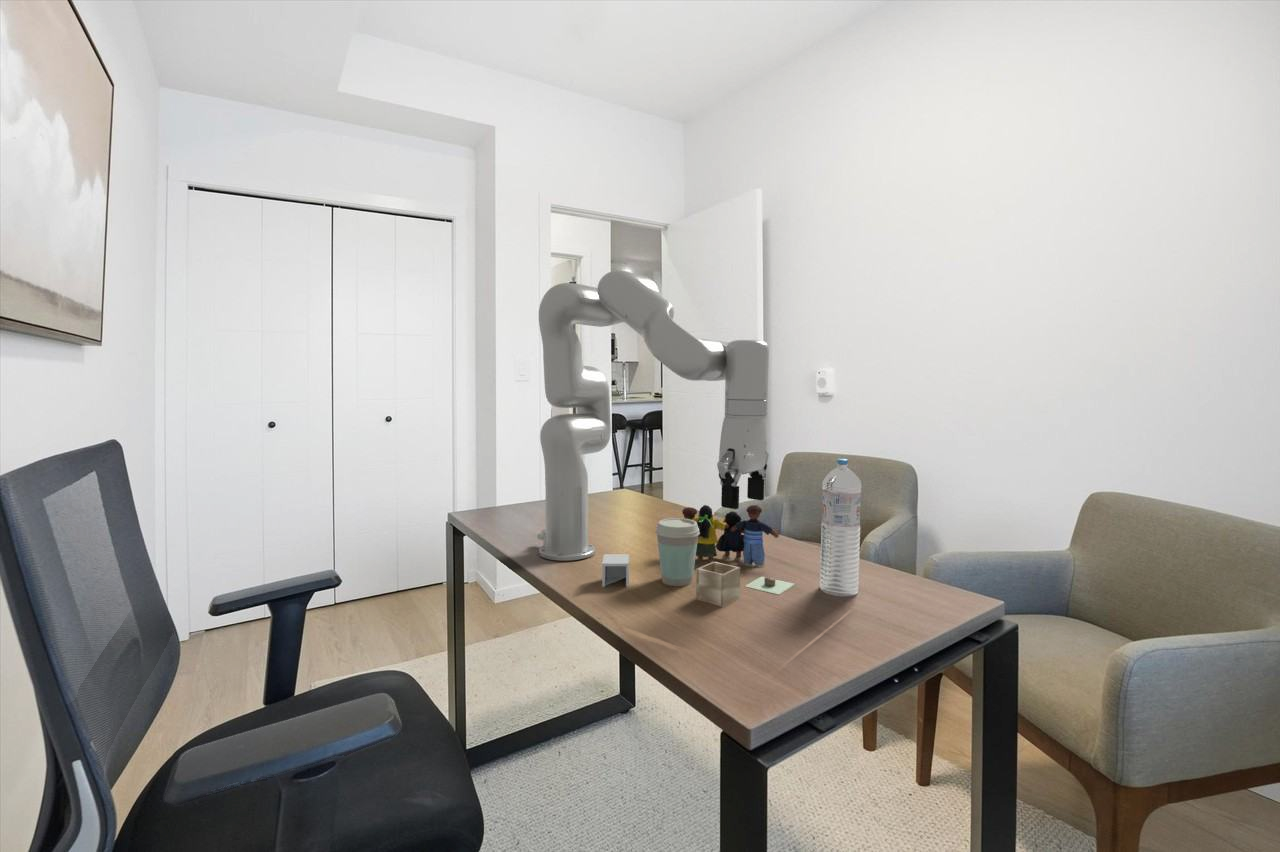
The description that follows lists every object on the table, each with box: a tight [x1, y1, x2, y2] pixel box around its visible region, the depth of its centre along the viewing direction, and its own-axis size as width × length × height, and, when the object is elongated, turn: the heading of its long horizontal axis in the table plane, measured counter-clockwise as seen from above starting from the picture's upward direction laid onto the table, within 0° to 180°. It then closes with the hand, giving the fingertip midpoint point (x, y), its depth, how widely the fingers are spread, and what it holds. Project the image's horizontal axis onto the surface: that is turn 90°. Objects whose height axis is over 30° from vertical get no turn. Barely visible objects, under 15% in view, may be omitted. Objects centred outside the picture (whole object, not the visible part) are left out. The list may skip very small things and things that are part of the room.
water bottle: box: [819, 458, 862, 598], centre depth 110 cm, size 7×7×25 cm
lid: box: [744, 576, 796, 596], centre depth 113 cm, size 7×7×2 cm
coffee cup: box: [655, 517, 700, 587], centre depth 116 cm, size 8×8×12 cm
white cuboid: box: [601, 553, 630, 588], centre depth 115 cm, size 6×5×5 cm
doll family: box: [682, 504, 780, 569], centre depth 130 cm, size 23×9×13 cm, turn 81°
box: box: [695, 560, 741, 608], centre depth 106 cm, size 6×6×6 cm
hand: (743, 503), depth 109 cm, fingers open, 9 cm apart
